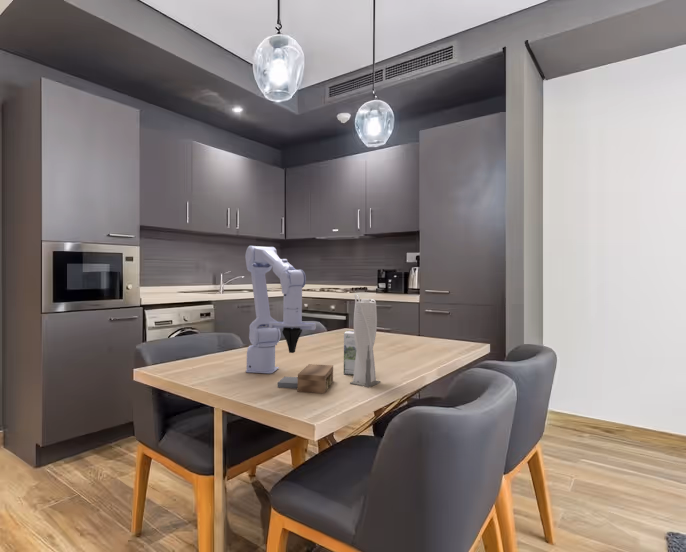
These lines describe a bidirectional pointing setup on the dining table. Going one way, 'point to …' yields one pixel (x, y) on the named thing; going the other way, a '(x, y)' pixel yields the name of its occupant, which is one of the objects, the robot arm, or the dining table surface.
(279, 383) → the slate tile
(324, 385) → the walnut shelf bridge
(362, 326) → the skyscraper
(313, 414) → the dining table surface
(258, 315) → the robot arm
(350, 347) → the syrup box
